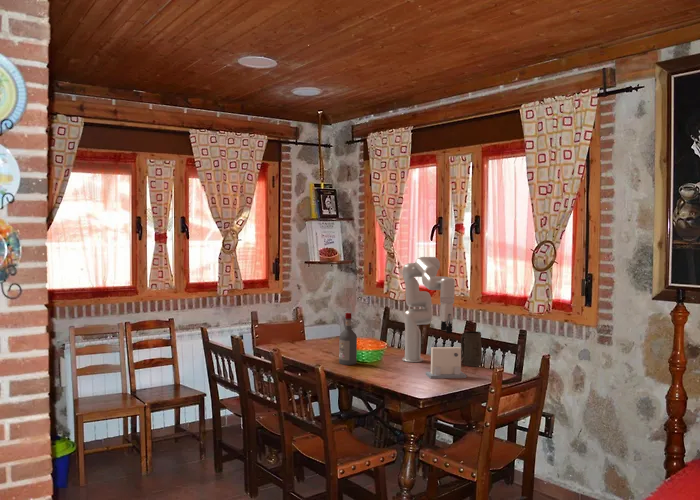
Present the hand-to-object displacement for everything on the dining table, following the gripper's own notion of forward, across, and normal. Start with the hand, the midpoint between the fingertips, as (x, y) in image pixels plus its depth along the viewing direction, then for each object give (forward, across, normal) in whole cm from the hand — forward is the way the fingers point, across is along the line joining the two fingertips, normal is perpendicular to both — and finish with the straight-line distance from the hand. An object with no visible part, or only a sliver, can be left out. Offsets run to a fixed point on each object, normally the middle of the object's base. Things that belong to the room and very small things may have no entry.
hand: (446, 331), depth 330 cm
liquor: (+25, -36, -49) cm, 66 cm away
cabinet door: (+23, 0, 0) cm, 23 cm away
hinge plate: (+24, +1, 0) cm, 24 cm away
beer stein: (+25, -30, +24) cm, 46 cm away
